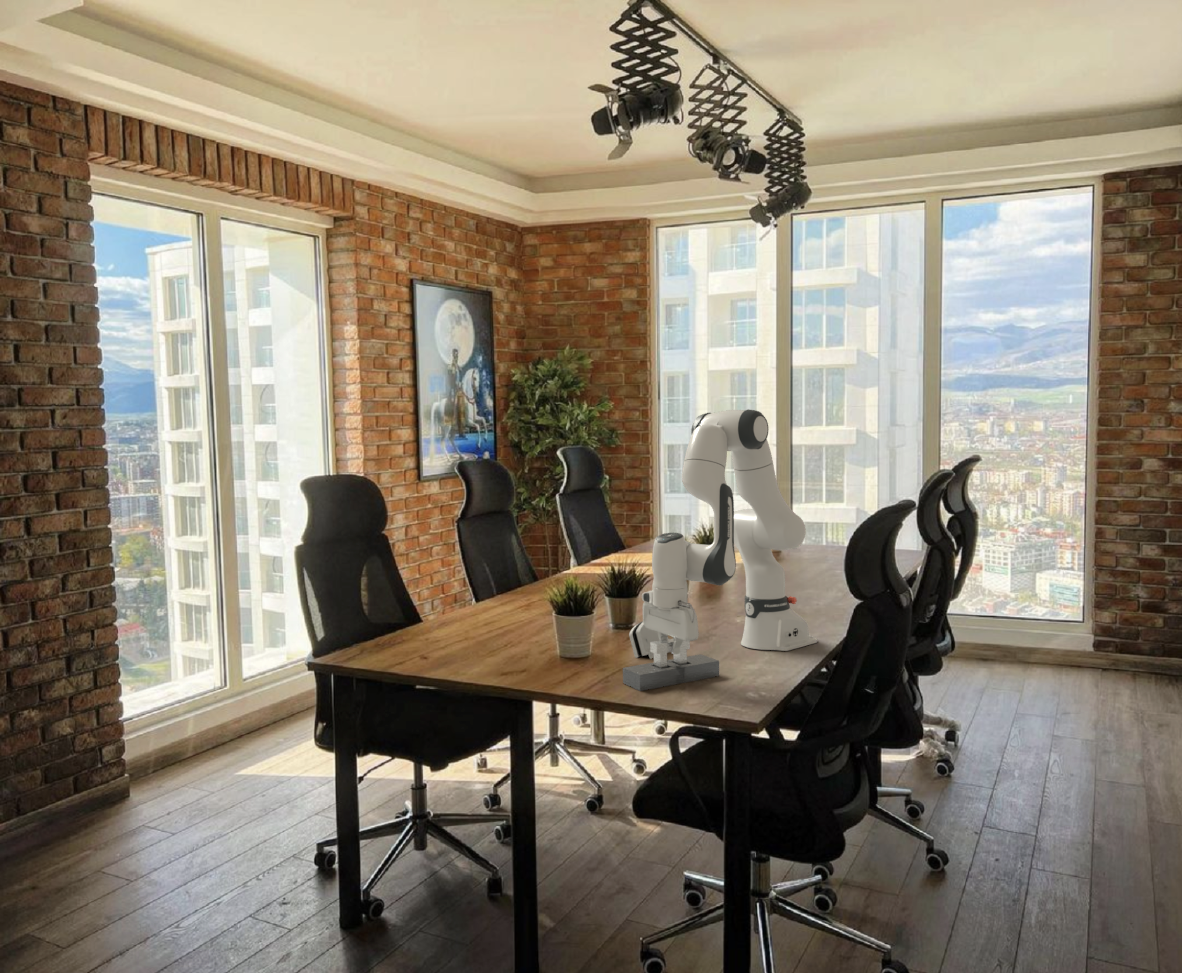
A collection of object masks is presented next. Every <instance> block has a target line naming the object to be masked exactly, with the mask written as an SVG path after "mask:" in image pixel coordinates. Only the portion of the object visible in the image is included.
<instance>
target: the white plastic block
mask: <svg viewBox="0 0 1182 973" xmlns="http://www.w3.org/2000/svg"><path fill="white" fill-rule="evenodd" d="M628 636H629V639H630V644H631V648H632V651H633V655H634V658H635V659H636V658H637V659H638V658H639V657H643V656H647V655H648V657H649V660H653V659H654V653H652V652H650V642H654V641H660V639H659V637H658V632H657V631H654V630H651V629H648V628H646V627H645V626H644V623H643V620H642V621H640V622H638V623H637V624H636V625H634V626H633V627H632V628H631V630H630V631H629V634H628ZM668 636H669V635H668ZM668 636H667V639H670V638H669V637H668ZM652 658H653V659H652Z"/></svg>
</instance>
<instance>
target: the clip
mask: <svg viewBox="0 0 1182 973" xmlns="http://www.w3.org/2000/svg"><path fill="white" fill-rule="evenodd" d="M673 644H674V641H673V638H669V639H667V640H660V641H654V642H650V652H652V653H654V658H653V662H654V667H657V668H659V669H663V668H667V660H668V653H671V647H672V646H673ZM690 649H691V641H683V642H682V644H681V646H680V653H679V654H673V659H674V663H675V664H678V665H686V664H687V657H688V655H687V654H688V650H690Z"/></svg>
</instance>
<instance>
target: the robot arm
mask: <svg viewBox="0 0 1182 973" xmlns="http://www.w3.org/2000/svg"><path fill="white" fill-rule="evenodd" d="M690 430H691V431H690V432H691V433H690V434H691V436H690V438H689V441H688V444H687V448H686V450H685V456H684V459H683V465H682V471H681V481H682V484H683V486H684V488H685V490H686V491H687V492H688V493H689V494H691V495H692V496H694V497H695V498H696V499H698V500H701V501H703V503H706V504H708V505H709V506H710V507H711V509H712V511H713V542H712V543H711V544H701V543H693V542H689V541H687V540H686V539H685V536H684V535H683V534H682V533H679V532H667V533H661V534H659V535H657V536H656V537H655V538H654V541H653V545H652V556H651V570H652V574H653V581H652V584H651V585H652V587H651V590H647V591H645V592H643V593H642V594H641V599H642V600H641V601H643V603H642V621H643V623H644V626H645V627H646V628H648V629H651V630H654V631H657V632H658V637H659V639H660V640H667V636H669V637H672V639H673V641H674V644H673V646H672V647H671V652H670V653H671V654H673V655H674V654H679V653H680V646H681V644H682V642H683V641H690V642H694V641H697V640H698V638H699V623H698V622H699V621H698V615H697V612H696V611H695V608H694V607H693V605H692V604H691V603H690V602H688V582H687V581H690V582H697V583H698V582H699V583H707V584H709V585H715V586H718V587H719V586H723V585H725V584H726V583H728V581H730V580H731V579H732V578H733V577H734V575H735V573H736V569H737V568H736V567H737V563H736V562H737V561H736V552H735V547H736V549H737V550H738V552H739V555H740V557H741V559H742V563H743V567H744V573H745V595H744V611H745V618H744V628H743V632H742V633H743V634H742V639H741V641H740V645H741V646H743V647H746V648H748V649H754V650H762V651H770V650H771V651H782V652H784V651H785V652H788V651H791V650H795V649H799V648H802V647H805V646H808V645H809V646H810V645H813V644H816V643H818V639H817V638H818V637H817V638H816V636H813V635H811V634H810V631H809V630H810V628H809V624H808V622H807V621H806V619H804V618H803V617H802V616H801V615H800V614H798V613H797V612H795V611H794V609H792V608H791V605H790V604H792V605H796V603H797V601H798V599H797V597H795V596H791V595H790V596H787V595H786V573H785V572H786V571H785V568H784V566H782V565H781V563H779V562H778V561H777V560H776V558H775V556H774V553H773V551H789V550H795V549H797V548H799V547H800V546H801V545H802V544H803V542H804V540H805V539H806V534H807V532H806V524H805V522H804V520H803V519H802V517H800V516H799V515H798V514H796V513H795V512H794V511H793V509H791V507H790V506H789V505H788V504H787V502H786V500H785V498H784V497H783V494H782V493H781V490H780V488H779V485H778V481H777V477H776V472H775V466H774V461H773V456H772V452H771V448H770V445H769V442H768V439H767V438H768V435H769V423H768V420H767V419H766V416H764V414H763V413H762V412H761V411H758V410H755V409H749V408H748V409H727V410H721V411H717V412H705V413H703V414H700V415H698V416H697V417H696V418H695V419H694V421H693V422H692V426H691V429H690ZM728 452H731V457H732V458H731V459H732V465H733V471H734V476H735V482H736V487H737V492H738V494H739V496H740V497H741V498H742V500H744V501H745V502H746V503H748V505H749V507H751V508H745V509H738V510H735V503H734V493H733V490H732V488H731V487H730V486H729V485H727V481H726V476H725V474H726V473H725V472H726V466H727V456H728ZM772 550H773V551H772Z"/></svg>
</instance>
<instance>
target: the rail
mask: <svg viewBox="0 0 1182 973" xmlns="http://www.w3.org/2000/svg"><path fill="white" fill-rule="evenodd" d="M715 676H717V677H719V676H720V660H718V659H716V658H712V657H709V656H707V655H705V654H704V655H703V654H695V655H689V656H688V655H687V664H686V665H678V664H675V663H674V658H673V659H667V668H663V669H659V668H657V667H654V661H653V662H649V663H644V664H637V665H632V666H626V667H622V684H623V683H624V684H623V685H625V684H626V686H628V687H630V686H631V687H630V688H632V689H634V690H637V691H640V692H642V691H647V690H648V689H649V690H653V689H657V688H658V689H659V688H663V686H664V687H668V686H669V687H670V686H674V685H680V684H683V683H684V684H685V683H690V682H695V681H700V679H701V680H705V679H706V680H707V679H710V678H716V677H715Z"/></svg>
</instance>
